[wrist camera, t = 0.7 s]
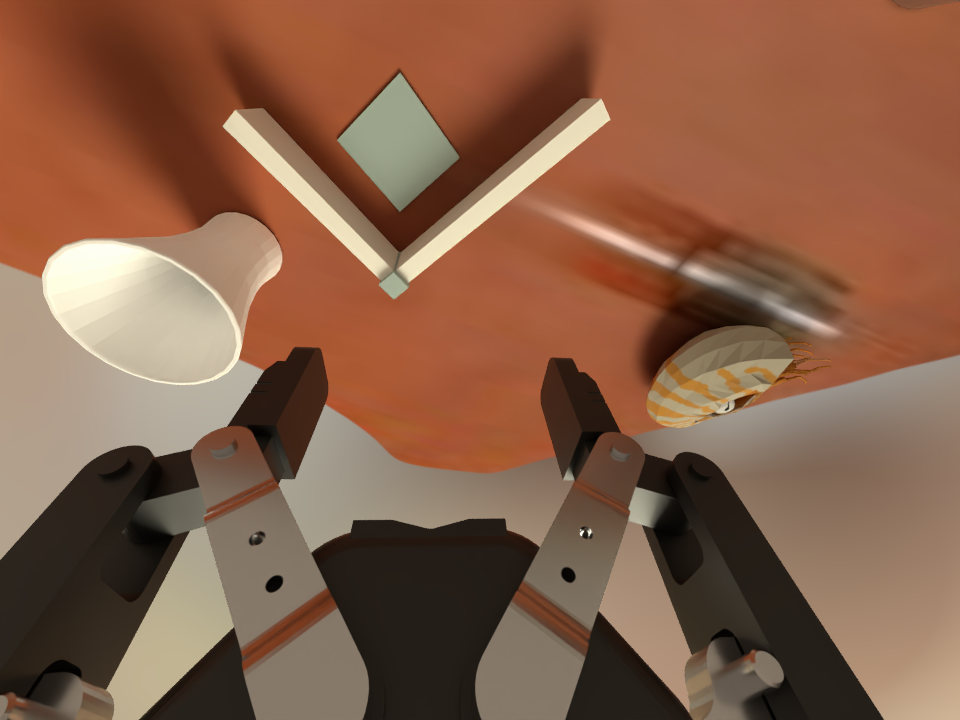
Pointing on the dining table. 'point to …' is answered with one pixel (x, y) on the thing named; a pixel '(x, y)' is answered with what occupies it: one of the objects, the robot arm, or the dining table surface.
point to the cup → (164, 297)
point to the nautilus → (721, 374)
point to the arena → (404, 174)
